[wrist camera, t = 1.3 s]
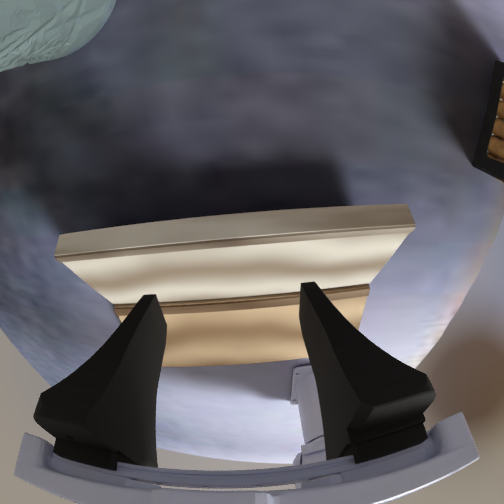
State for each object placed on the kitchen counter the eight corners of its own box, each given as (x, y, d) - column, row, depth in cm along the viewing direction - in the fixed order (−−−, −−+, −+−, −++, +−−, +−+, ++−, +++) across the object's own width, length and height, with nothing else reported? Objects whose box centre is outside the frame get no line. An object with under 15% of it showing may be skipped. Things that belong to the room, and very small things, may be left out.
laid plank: (348, 340, 30) (352, 352, 28) (147, 355, 29) (145, 368, 28) (363, 275, 25) (370, 287, 23) (118, 295, 24) (113, 308, 23)
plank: (365, 267, 24) (370, 284, 23) (114, 287, 24) (113, 305, 23) (407, 203, 16) (416, 226, 15) (59, 234, 16) (53, 257, 15)
